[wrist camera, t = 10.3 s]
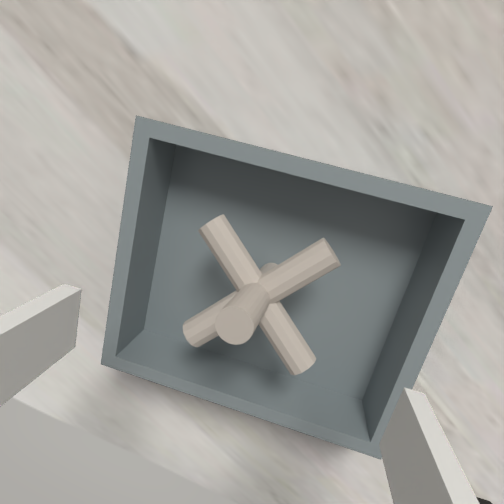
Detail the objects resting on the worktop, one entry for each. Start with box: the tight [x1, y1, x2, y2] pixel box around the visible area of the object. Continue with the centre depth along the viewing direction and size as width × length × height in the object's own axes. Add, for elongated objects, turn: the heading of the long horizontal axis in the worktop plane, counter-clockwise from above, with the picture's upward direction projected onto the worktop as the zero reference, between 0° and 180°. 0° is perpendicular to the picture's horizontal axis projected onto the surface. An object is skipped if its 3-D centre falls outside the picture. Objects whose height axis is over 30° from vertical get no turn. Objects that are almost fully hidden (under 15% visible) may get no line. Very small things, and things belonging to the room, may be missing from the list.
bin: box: [101, 116, 493, 459], centre depth 24 cm, size 20×17×5 cm
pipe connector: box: [183, 214, 341, 375], centre depth 20 cm, size 10×10×10 cm
